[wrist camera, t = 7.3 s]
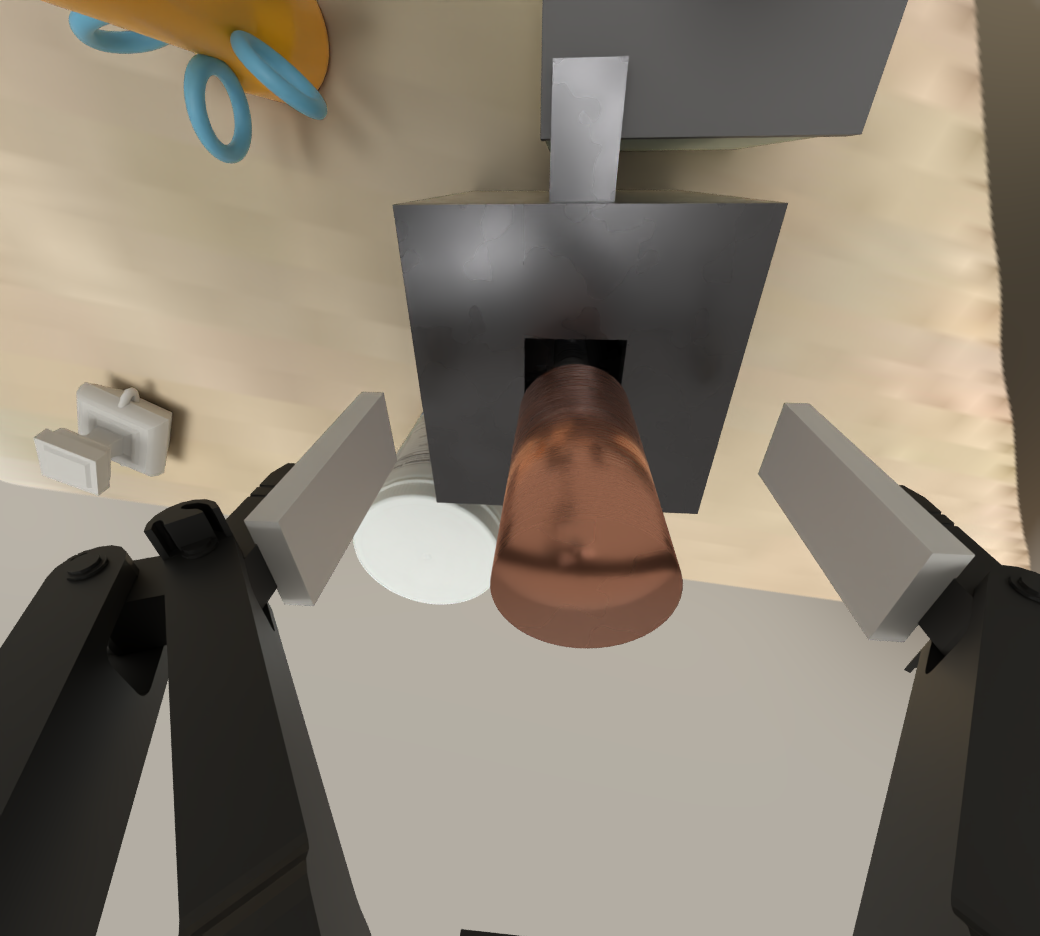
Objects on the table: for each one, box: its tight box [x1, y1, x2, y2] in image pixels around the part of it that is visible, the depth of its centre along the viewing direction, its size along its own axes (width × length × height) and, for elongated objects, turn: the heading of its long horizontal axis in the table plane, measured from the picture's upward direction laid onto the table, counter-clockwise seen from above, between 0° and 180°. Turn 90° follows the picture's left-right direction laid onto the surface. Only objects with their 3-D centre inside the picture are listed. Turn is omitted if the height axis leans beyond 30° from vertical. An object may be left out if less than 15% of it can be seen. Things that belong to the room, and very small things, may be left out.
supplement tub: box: [353, 413, 503, 604], centre depth 32 cm, size 10×10×15 cm
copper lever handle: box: [490, 339, 683, 648], centre depth 17 cm, size 4×4×19 cm
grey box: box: [393, 56, 788, 514], centre depth 23 cm, size 17×13×16 cm
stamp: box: [34, 382, 172, 496], centre depth 36 cm, size 9×7×8 cm
